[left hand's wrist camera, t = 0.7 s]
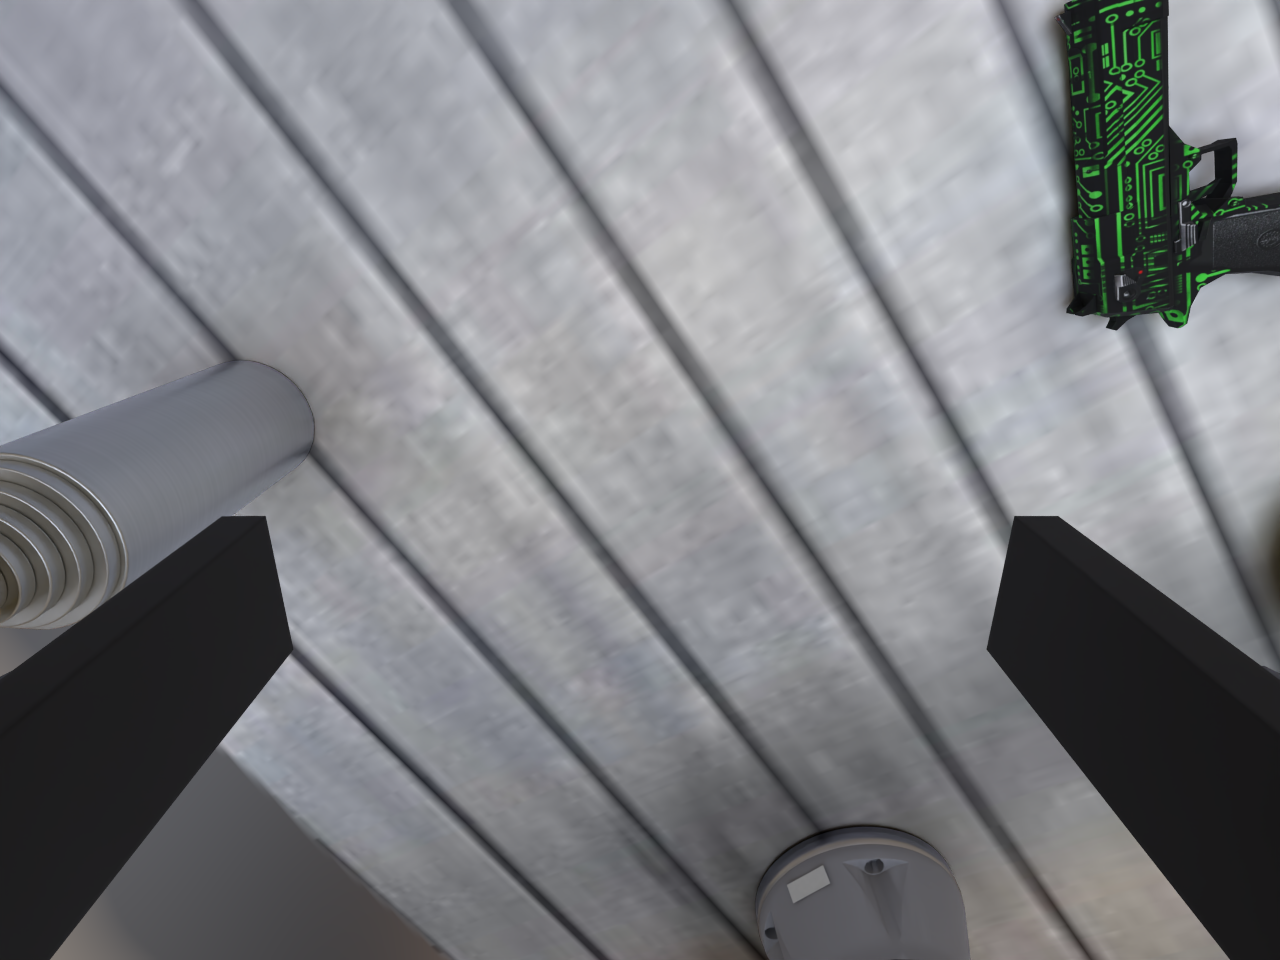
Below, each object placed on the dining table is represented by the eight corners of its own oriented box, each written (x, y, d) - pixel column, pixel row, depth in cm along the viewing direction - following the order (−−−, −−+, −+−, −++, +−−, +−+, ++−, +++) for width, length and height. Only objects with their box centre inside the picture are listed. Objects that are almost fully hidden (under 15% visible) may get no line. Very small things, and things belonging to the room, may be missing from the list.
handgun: (1370, 299, 35) (1070, 355, 36) (1315, 293, 38) (1037, 346, 39) (1433, -86, 30) (1077, -13, 30) (1363, -60, 33) (1039, 7, 33)
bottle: (165, 396, 40) (-309, 585, 20) (261, 337, 39) (-142, 475, 19) (246, 496, 42) (-110, 756, 22) (339, 442, 41) (52, 667, 21)
